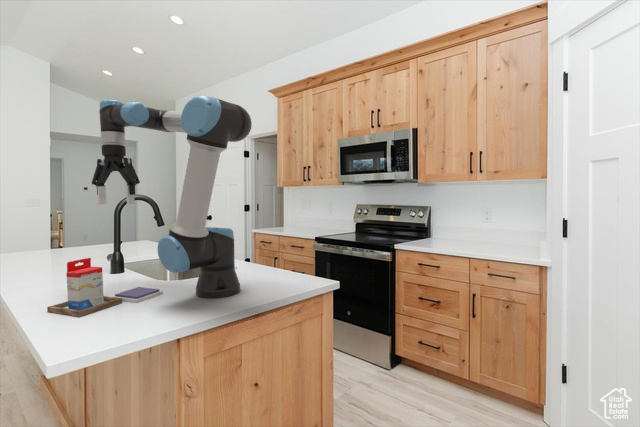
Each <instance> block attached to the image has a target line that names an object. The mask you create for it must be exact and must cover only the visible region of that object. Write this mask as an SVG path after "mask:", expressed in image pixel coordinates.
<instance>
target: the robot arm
mask: <svg viewBox="0 0 640 427" xmlns="http://www.w3.org/2000/svg"><path fill="white" fill-rule="evenodd" d="M98 113H99V123H100V124H99V125H100V143H101V144H102V145H101V155H102V156H103V157H104V159H103V158H102V159H101V158H97V161H96V167H95V171H94V173H93V177H92V181H91V185H93V186H95V187H96V195H97V203H98V204H97V205H107V191H106V190H107V189H106V188H107V187H106V185H105V184H106V182H107V180H108V179H109V177H110V176H111V173H113V172H118V173H119V174H120V176H121V177H122V179H123V180H124V181H125V183H126V185H125V190H126V192H125V193H126V205H135V204H136V203H135V195H136V185H140V183H141V182H140V179H139V177H138V174H137V172H136V170H135V167H134V165H133V160H132V159H133V158H131V157H126V155H127V154H126V152H127V150H126V148H127V147H126V146H125V145H126V132H125V130H126V129H125V128H126V127H127V128H128V127H134V128H135V127H136V128H141V129H149V130H154V131H161V132H164V133H184V134H185V133H186V141H187V143H188V144H189V145H190V149H189V152H188V153H189V154H188V158H187V163H186V164H187V165H186V169H185V174H184V179H183V184H182V189H181V190H182V191H181V196H180V201H179V206H178V213H177V217H176V222H174V223H172V224H170V226H169V229H168V230H169V231H168V235H164V236H163V237H162V238H160V239H159V241H158V244H157V255H158V259H159V260H160V263H161V264H162V266H163V267H164V268H165V269H166V270H167V271H169V272H171V273H176V274H177V273H183V272H184V273H185V272H188V271H190V270H195V269H198V268H199V269H200V272H199V274H198V279H197V282H196V283H197V284H196V285H195V295H196V296H198V297H200V298H206V299H216V298H217V299H218V298H226V297H230V296H234V295H236V294H238V293H240V292H241V283H240V280H239V278H238V274H237V273H236V269H235V268H236V267H235V265H236V264H235V237H234V231H233V229H232V228H230V227H215V226H214V227H212V226H206V223H207V219H208V214H209V209H210V205H211V201H212V200H211V199H212V195H213V189H214V185H215V182H216V181H215V180H216V175H217V172H218V171H217V170H218V166H219V162H220V157H221V154H222V153H223V152H224V151H226V150H227V149H228V144H229V142H232V143H236V142H241V141H243V140H244V139H246V138H247V137H248V136H249V135H250V133H251V130H252V126H253V125H252V119H251V116H250V114H249V112H248V111H247V110H246V108H244V107H243V106H241V105H239V104H236V103H232V102H229V101H225V100H222V99H219V98H216V97H214V96H209V95H203V94H202V95H201V94H200V95H196V96H194V97H192V98H191V99H189V100H188V101H187V102H186V103H185V105H184V106H183V108H182V110H163V109H158V108H152V107H148V106H146V105H144V104H143V103H142V102H138V101H129V102H126V103H123V102H122V101H120V100H117V99H116V100H115V99H102V100H100V102H99V112H98Z"/></svg>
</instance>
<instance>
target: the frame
mask: <svg viewBox="0 0 640 427" xmlns="http://www.w3.org/2000/svg"><path fill="white" fill-rule="evenodd" d="M103 298H104V303H102V304H100V305H96V306H93V307H90V308H87V309H84V310H81V311H80V310H73V309H68V300H67V301H63V302H60V303H57V304H54V305H49V306H47V307H46V309H47V310H46V311H47V313H53V314H56V315H57V314H58V315H62V316H63V315H64V316H72V317H75V316H76V318H81V317H84V316H88V315H91V314H94V313H97V312H99V311H102V310H106V309H108V308H111V307H114V306H117V305H120V304H121V305H122V304H123V301H122V298H116V297H112V296H107V295H103Z"/></svg>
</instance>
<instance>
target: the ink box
mask: <svg viewBox="0 0 640 427" xmlns="http://www.w3.org/2000/svg"><path fill="white" fill-rule="evenodd" d="M80 263H81V264H80ZM78 264H79V265H78ZM91 265H92V258H91V257H86V258H82V259H76V260H71V261H67V262H66V274H65V275H66V288H67V301H68V309H73V310H80V311H81V310H84V309H87V308H90V307H93V306H96V305H100V304H102V303H104V298H103V296H104V279H103V278H104V277H103V267H101V266H91Z"/></svg>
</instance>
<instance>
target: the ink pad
mask: <svg viewBox="0 0 640 427" xmlns="http://www.w3.org/2000/svg"><path fill="white" fill-rule="evenodd" d="M163 292H164V291H163V290H160V289H159V288H151V287H140V286H138V287H134V288H131V289H128V290H124V291H121V292H118V293H115V294H114V295H113V296H111V297H116V298H122V302H128V303H134V304H137V303H141V302H143V301H146V300H149V299H152V298H155V297H158V296H160V295H163Z"/></svg>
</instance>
